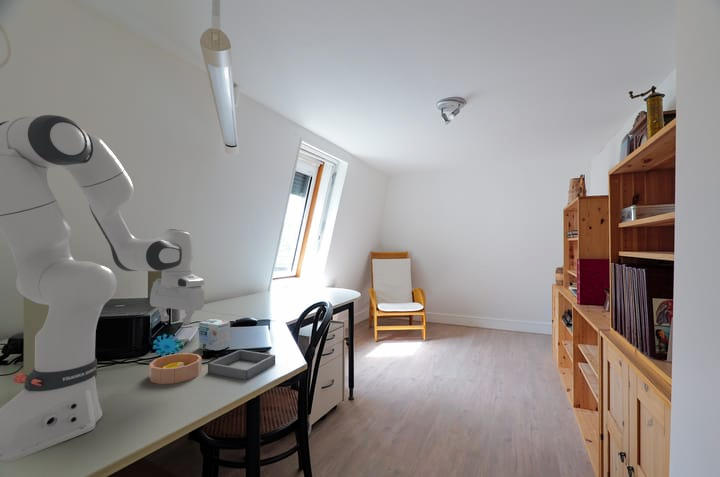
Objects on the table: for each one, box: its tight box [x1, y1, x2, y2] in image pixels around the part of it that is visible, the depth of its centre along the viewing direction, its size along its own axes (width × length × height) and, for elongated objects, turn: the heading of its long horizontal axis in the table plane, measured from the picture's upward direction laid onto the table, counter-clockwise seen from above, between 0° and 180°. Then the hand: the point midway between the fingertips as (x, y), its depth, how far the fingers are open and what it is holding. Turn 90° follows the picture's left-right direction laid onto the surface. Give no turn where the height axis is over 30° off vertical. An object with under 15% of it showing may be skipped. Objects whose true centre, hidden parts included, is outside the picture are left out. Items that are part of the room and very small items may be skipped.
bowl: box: [148, 352, 203, 385], centre depth 114 cm, size 15×15×4 cm
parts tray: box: [207, 349, 276, 381], centre depth 120 cm, size 16×16×3 cm
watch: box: [163, 362, 184, 368], centre depth 115 cm, size 6×3×6 cm
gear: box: [152, 333, 184, 358], centre depth 133 cm, size 11×6×10 cm
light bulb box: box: [198, 318, 231, 350], centre depth 142 cm, size 11×7×11 cm, turn 65°
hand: (175, 322), depth 114 cm, fingers open, 8 cm apart
